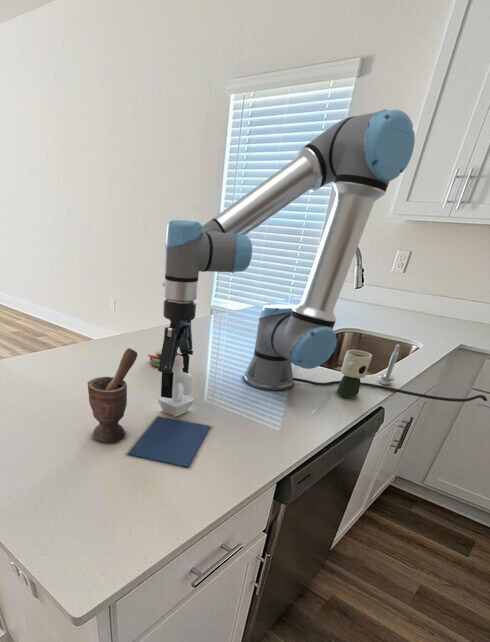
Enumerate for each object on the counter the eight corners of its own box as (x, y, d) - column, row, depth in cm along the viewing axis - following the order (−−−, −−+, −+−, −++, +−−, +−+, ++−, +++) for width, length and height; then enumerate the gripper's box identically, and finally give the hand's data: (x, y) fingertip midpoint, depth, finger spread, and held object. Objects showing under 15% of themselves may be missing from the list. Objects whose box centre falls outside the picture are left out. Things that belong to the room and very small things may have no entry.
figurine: (178, 421, 104) (181, 365, 95) (153, 409, 109) (153, 355, 100) (196, 413, 109) (201, 358, 100) (171, 402, 114) (173, 349, 105)
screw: (378, 385, 132) (375, 379, 136) (393, 387, 131) (390, 381, 135) (392, 345, 125) (389, 340, 128) (409, 347, 124) (405, 342, 128)
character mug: (349, 404, 119) (363, 360, 111) (327, 396, 122) (339, 353, 115) (365, 394, 125) (379, 352, 118) (343, 387, 129) (355, 346, 121)
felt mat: (209, 427, 103) (209, 426, 102) (187, 467, 87) (187, 466, 87) (158, 417, 106) (158, 416, 105) (127, 454, 90) (127, 453, 90)
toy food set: (173, 373, 132) (173, 363, 130) (140, 364, 137) (140, 355, 136) (193, 362, 141) (194, 353, 140) (162, 354, 147) (162, 345, 145)
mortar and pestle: (116, 419, 104) (112, 340, 92) (142, 429, 100) (142, 348, 88) (84, 436, 96) (76, 353, 84) (112, 448, 92) (107, 362, 80)
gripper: (180, 289, 103) (175, 369, 115) (145, 308, 84) (143, 403, 96) (208, 293, 102) (201, 374, 114) (179, 313, 82) (173, 408, 94)
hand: (174, 387), depth 105 cm, fingers open, 13 cm apart
